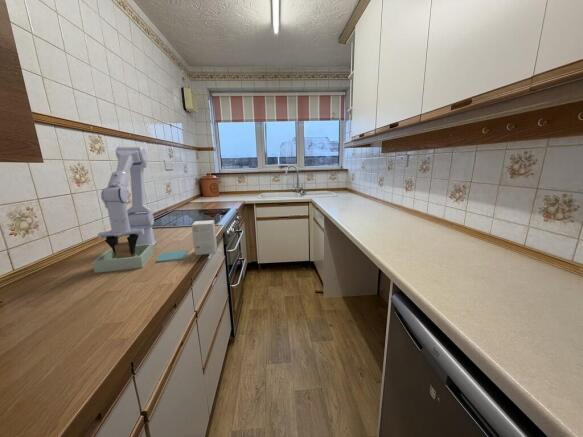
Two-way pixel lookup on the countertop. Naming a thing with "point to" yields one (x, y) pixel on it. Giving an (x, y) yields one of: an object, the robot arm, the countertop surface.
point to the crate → (123, 259)
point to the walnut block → (123, 250)
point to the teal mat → (172, 256)
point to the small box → (204, 237)
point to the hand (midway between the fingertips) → (125, 254)
